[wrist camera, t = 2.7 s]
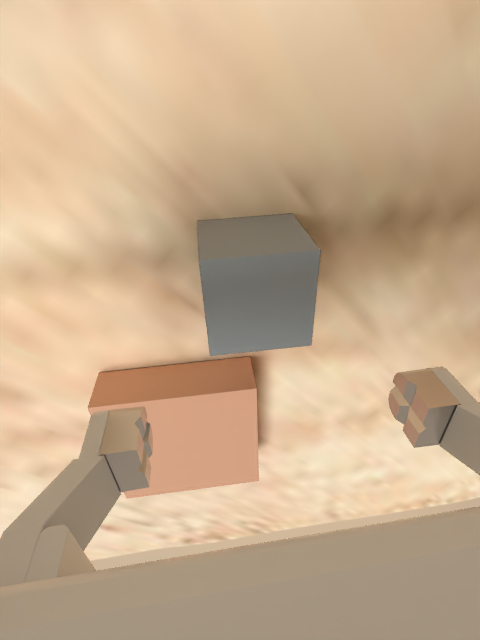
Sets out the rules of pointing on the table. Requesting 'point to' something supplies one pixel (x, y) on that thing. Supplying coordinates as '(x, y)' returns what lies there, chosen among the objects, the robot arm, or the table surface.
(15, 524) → the robot arm
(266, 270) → the cube
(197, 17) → the table surface
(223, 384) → the pedestal
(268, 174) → the table surface
